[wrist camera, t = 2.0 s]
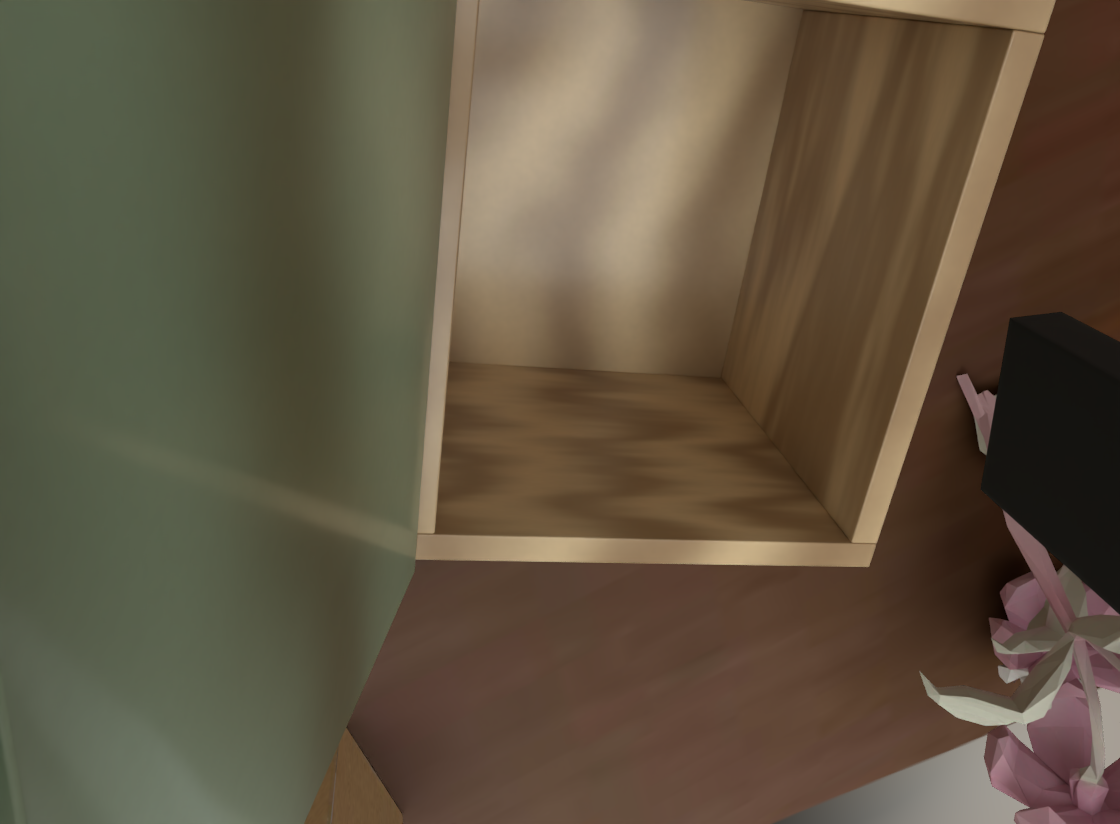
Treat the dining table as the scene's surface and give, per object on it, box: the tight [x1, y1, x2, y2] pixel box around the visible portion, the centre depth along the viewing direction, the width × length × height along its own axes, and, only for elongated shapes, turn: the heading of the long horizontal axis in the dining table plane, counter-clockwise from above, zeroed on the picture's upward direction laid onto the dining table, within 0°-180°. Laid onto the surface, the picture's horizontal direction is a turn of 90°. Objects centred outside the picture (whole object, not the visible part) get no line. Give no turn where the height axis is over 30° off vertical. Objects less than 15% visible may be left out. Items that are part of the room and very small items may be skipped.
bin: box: [415, 0, 1056, 567], centre depth 30 cm, size 15×17×14 cm
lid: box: [0, 0, 457, 824], centre depth 15 cm, size 16×17×1 cm
